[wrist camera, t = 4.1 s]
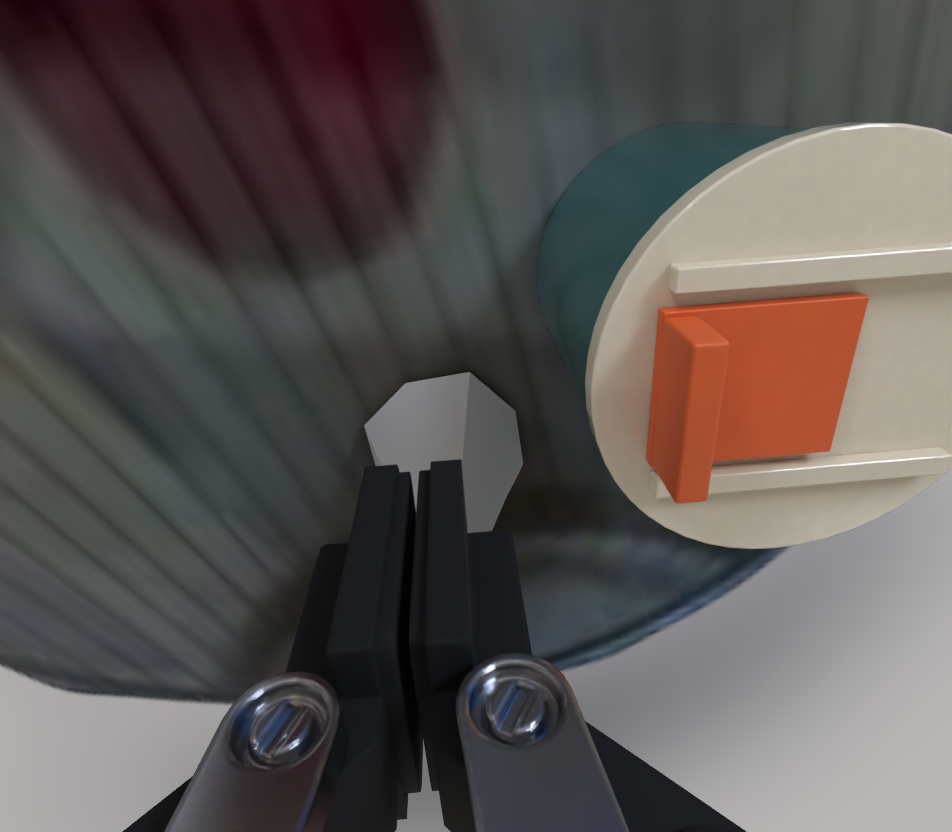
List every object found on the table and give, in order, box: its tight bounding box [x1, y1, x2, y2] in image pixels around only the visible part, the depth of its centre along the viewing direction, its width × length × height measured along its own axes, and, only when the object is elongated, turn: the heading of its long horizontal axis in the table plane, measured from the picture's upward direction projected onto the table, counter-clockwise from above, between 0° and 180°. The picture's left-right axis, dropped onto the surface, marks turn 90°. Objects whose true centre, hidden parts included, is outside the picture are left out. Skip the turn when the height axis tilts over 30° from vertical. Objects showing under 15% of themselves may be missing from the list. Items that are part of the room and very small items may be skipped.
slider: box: [646, 292, 869, 504], centre depth 14 cm, size 5×4×2 cm
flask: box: [364, 372, 523, 533], centre depth 23 cm, size 7×7×10 cm
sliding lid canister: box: [537, 122, 952, 549], centre depth 19 cm, size 11×11×11 cm
